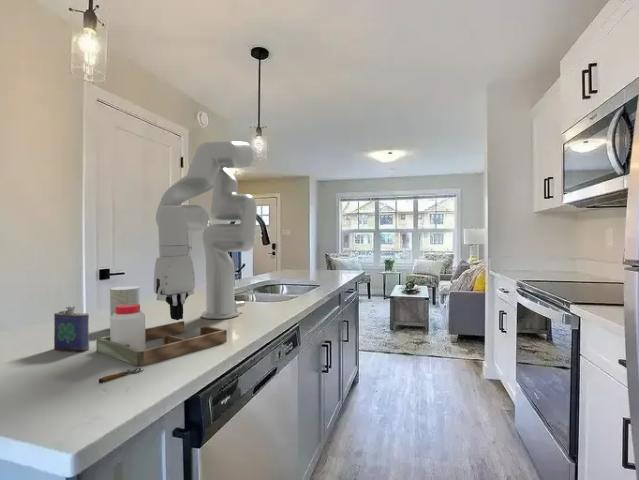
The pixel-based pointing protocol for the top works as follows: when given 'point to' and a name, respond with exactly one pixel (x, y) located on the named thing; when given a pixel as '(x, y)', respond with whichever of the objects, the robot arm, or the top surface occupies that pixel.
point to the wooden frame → (170, 344)
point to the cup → (123, 296)
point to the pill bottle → (128, 326)
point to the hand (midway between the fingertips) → (176, 318)
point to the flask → (71, 331)
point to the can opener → (119, 375)
